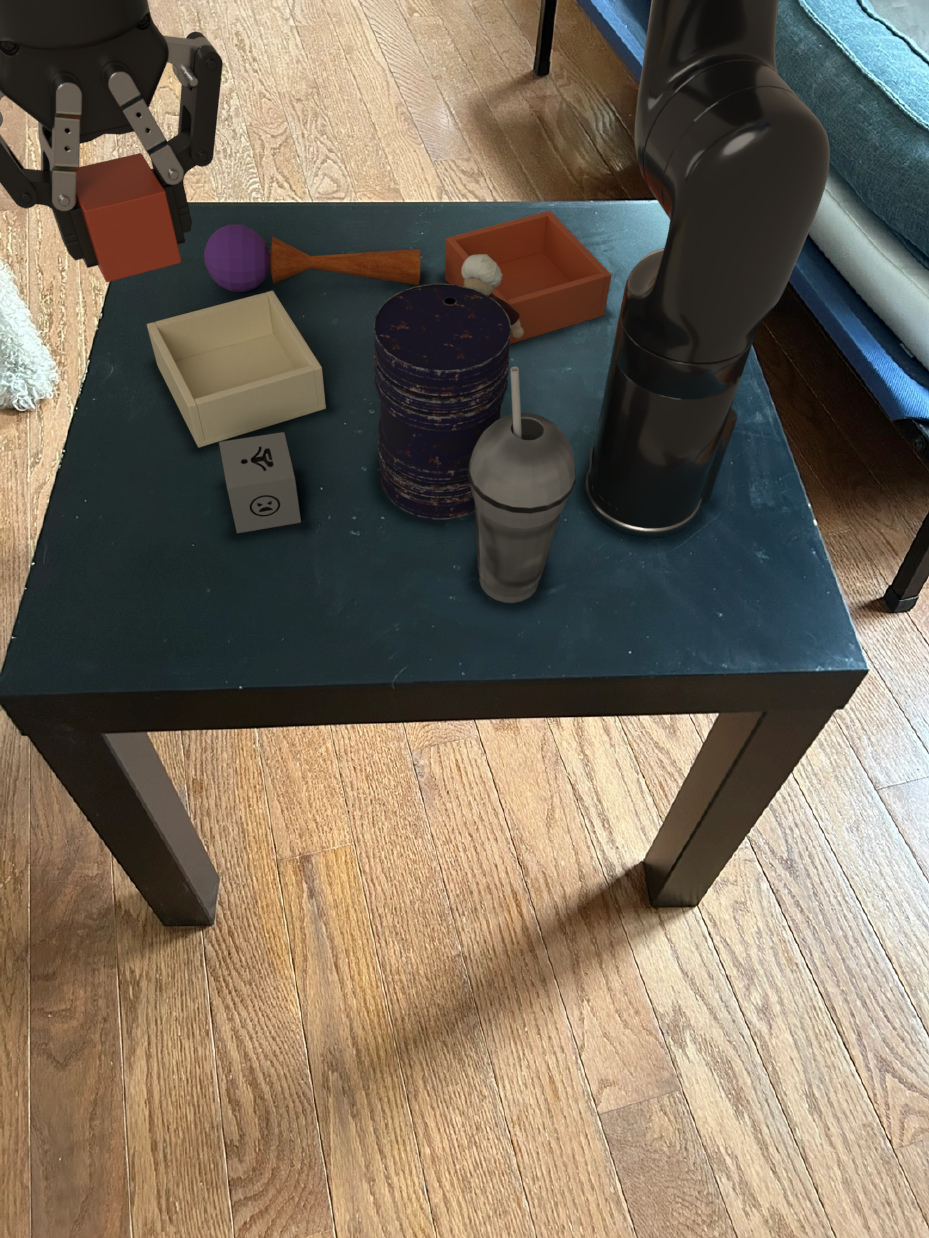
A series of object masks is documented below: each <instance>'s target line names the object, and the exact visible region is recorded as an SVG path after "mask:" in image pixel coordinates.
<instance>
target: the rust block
mask: <svg viewBox="0 0 929 1238" xmlns="http://www.w3.org/2000/svg"><path fill="white" fill-rule="evenodd" d="M152 169H153V168H151V166H150V165H149V163H148V161H147V160H146V158H145V156H144V155H143V153H141V152H138V153H135V154H130V155H125V156H121V157H116V158H112V159H108V160H104V161H98V162H95V163H91V164H86V165H83V166H79V170H77V175H76V200H77V202H78V203H79V205H80V207H81V210H82V213H83V216H84V219H85V223H86V226H87V229H88V232H89V236H90V239H91V242H92V245H93V248H94V252H95V255H96V258H97V261H98V265H97V267H98V269H99V271H100V273H101V275H102V277H103V279H104V281H105V282H106V283H110V282H114V281H118V280H122V279H125V278H129V277H133V276H136V275H140V274H144V273H148V272H151V271H155V270H159V269H163V268H166V267H171V266H174V265H179V264H182V258H181V252H180V248H179V245H178V244H177V240H176V235H175V231H174V227H173V222H172V218H171V214H170V210H169V205H168V201H167V197H166V192H165V191H164V189H163V187H162V186H161V184H160V183H159V181H158V179H157V178H156V176H155V174H154V173H153V171H152Z"/></svg>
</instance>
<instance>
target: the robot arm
mask: <svg viewBox="0 0 929 1238" xmlns="http://www.w3.org/2000/svg"><path fill="white" fill-rule="evenodd" d="M650 2H651V3H650V10H649V18H648V24H647V31H646V39H645V46H644V51H643V52H644V53H643V59H642V65H641V74H640V79H639V84H638V85H639V86H638V93H637V99H636V108H635V117H634V129H633V131H634V132H633V133H634V135H633V144H634V153H635V158H636V162H637V165H638V168H639V172H640V175H641V176H642V179H643V180H644V182H645V184H646V186H647V187H648V189H649V190H650V192H651V194H653V197H654V198H655V200H656V201H657V202H658V204H659V205H660V207H661V209H662V210H663V211H664V213H665V214H666V216H667V218H668V219H669V226H668V231H667V235H666V239H665V243H664V247H663V248H664V251H660V252H657V253H654V254H652V255H650V256H648V257H646V258H644V259H643V260H642V261H640V260H639V261H640V262H639V261H638V262H639V263H638V262H637V264H635V266H634V267H633V268H632V270H631V271H630V273H629V275H628V276H627V279H626V282H625V286H624V289H623V295H622V299H621V303H620V304H621V305H620V310H619V315H618V319H617V324H616V330H615V335H614V339H613V346H612V352H611V355H610V360H609V361H610V362H609V366H608V371H607V376H606V381H605V386H604V392H603V395H602V396H603V397H602V401H601V407H600V412H599V417H598V423H597V428H596V432H595V438H594V443H593V439H591V443H593V444H591V445H590V452H589V453H590V454H589V466H588V469H587V473H586V477H585V480H584V488H583V489H584V497H585V500H586V503H587V505H588V507H589V508H590V510H591V511H592V512H593V514H594V515H595V516H596V517H597V518H598V520H600V521H601V522H602V523H603V524H605V525H607V526H608V527H610V528H612V529H613V530H616V531H617V532H620V533H621V534H625V535H629V536H631V537H632V536H633V537H638V538H648V539H649V538H651V539H652V538H653V539H654V538H662V537H667V536H670V535H673V534H677V533H678V532H680V531H682V530H684V529H685V528H686V527H688V526H689V525H690V524H691V523H692V522H693V521H694V520H695V518H696V517H697V515H698V512H699V509H700V507H701V506H703V505H706V504H708V503H709V501H710V499H711V498H710V497H711V495H712V494H713V493H712V492H713V490H714V486H715V484H716V481H717V478H718V475H719V472H720V470H721V467H722V463H723V461H724V458H725V455H726V451H727V449H728V447H729V443H730V440H731V438H732V435H733V433H734V432H733V431H734V429H735V426H736V424H737V423H736V422H737V420H738V413H737V411H736V410H735V409H734V407H733V404H734V400H735V398H736V394H737V391H738V388H739V385H740V382H741V379H742V376H743V373H744V370H745V367H746V364H747V361H748V358H749V355H750V352H751V349H752V346H753V343H754V340H755V338H756V336H757V333H758V329H759V327H760V325H761V324H762V323H763V322H764V320H766V318H767V317H768V316H769V315H770V314H771V312H772V311H773V310H774V308H776V306H777V304H778V303H779V301H780V300H781V298H782V296H783V295H784V292H785V291H786V288H787V285H788V283H789V281H790V278H791V276H792V273H793V271H794V269H795V267H796V263H797V261H798V258H799V256H800V254H801V252H802V249H803V247H804V244H805V242H806V239H807V237H808V235H809V232H810V230H811V227H812V226H813V222H814V220H815V217H816V215H817V213H818V209H819V207H820V204H821V202H822V200H823V199H822V198H823V195H824V192H825V188H826V185H827V181H828V177H829V170H830V161H831V148H830V141H829V138H828V134H827V131H826V129H825V127H824V125H823V124H822V122H821V121H820V119H819V118H818V117H817V116H816V115H815V113H814V112H813V111H812V110H811V109H810V108H809V107H808V105H806V103H804V101H803V100H802V99H801V97H800V96H799V95H797V93H796V92H795V91H794V90H793V89H792V88H791V87H790V86H789V85H788V83H786V81H785V80H784V79H783V78H782V77H781V75H780V74H779V73H778V68H777V63H776V36H777V35H776V33H777V23H778V21H777V20H778V13H779V12H778V10H779V5H780V0H651V1H650ZM168 63H169V64H171V66H172V72H173V75H174V77H176V79H177V80H178V82H179V83H180V86H181V87H180V98H179V99H180V101H179V111H178V123H177V124H178V128H177V134H176V135H175V136H173V137H172V138H170V139H167V138H166V136H165V135H164V132H163V131H162V130H161V128H160V126H159V124H158V123H157V121H156V119H155V117H154V115H153V113H152V112H151V110H150V106H151V103H152V101H153V99H154V96H155V94H156V91H157V89H158V85H159V83H160V81H161V80H162V77H163V74H164V71H165V69H166V67H167V65H168ZM223 65H224V63H223V59H222V57H221V55H220V54H219V52H218V51H217V50H216V48H215V47H214V45H213V44H212V42H211V41H209V39H208V38H206V36H205V35H204V34H203V33H202V32H200V31H192V32H189V33H188V34H187V36H186V37H178V36H170V35H164V34H163V33H162V32H161V31H160V29H159V28H158V26H157V25H156V24H155V22H154V20H153V18H152V14H151V10H150V5H149V1H148V0H0V101H1V100H2V99H3V98H4V97H6V98H7V99H9V100H10V101H11V102H12V103H14V104H15V105H16V106H18V107H19V108H20V109H21V110H23V111H24V112H25V113H26V114H28V115H29V116H30V117H31V118H33V119H34V120H35V121H37V132H38V133H37V135H38V140H39V146H40V169H35V168H34V169H33V168H25V166H24V165H23V163H21V161H20V160H19V158H18V157H17V155H16V154H15V153H14V152H13V150H12V148H11V147H10V145H9V144H8V143H7V142H6V140H5V138H4V137H3V136H2V135H1V134H0V185H1V186H2V187H3V189H4V190H5V191H6V193H7V194H8V195H9V197H10V198H11V199H12V200H13V202H14V204H16V206H18V207H19V208H22V209H30V208H34V207H35V206H36V205H39V206H45V207H48V208H49V209H50V210H51V211H52V213H53V217H54V221H55V223H56V226H57V228H58V232H59V235H60V238H61V240H62V243H63V244H64V247H65V249H66V251H67V253H68V255H69V256H70V257H71V258H72V259H73V260H74V262H75V261H79V260H82V261H83V263H84V265H85V267H86V268H87V269H90V268H93V267H98V261H97V258H96V255H95V252H94V248H93V245H92V242H91V239H90V236H89V232H88V229H87V226H86V223H85V219H84V216H83V213H82V210H81V207H80V205H79V203H78V202H77V200H76V175H77V170H79V167H80V152H81V149H80V148H81V144H85V143H89V142H92V141H94V140H96V139H98V138H100V137H101V136H104V135H117V136H118V135H125V134H130V133H135V135H136V137H137V139H138V140H139V141H140V143H141V145H142V147H143V148H144V150H145V152H146V153H147V155H148V157H149V158H150V162H151V166H152V168H151V169H152V171H153V173H154V174H155V176H156V178H157V179H158V181H159V183H160V184H161V186H162V187H163V189H164V191H165V192H166V197H167V201H168V205H169V210H170V214H171V218H172V222H173V227H174V231H175V235H176V240H177V244H178V246H179V245H183V244H185V243H186V239H185V235H184V234H185V233H188V232H191V230H192V225H193V220H192V215H191V211H190V208H189V203H188V198H187V194H186V193H187V192H186V189H185V184H184V183H185V181H184V180H185V176H186V174H187V173H188V172H189V171H190V170H192V169H193V168H195V167H199V168H201V167H202V168H204V167H207V166H209V165H210V164H211V163H212V161H213V160H214V153H215V144H216V143H215V142H216V135H217V134H216V133H217V124H218V114H219V106H220V104H219V103H220V94H221V85H222V74H223ZM3 122H4V116H3V114H2V112H1V111H0V128H1V127H2V125H3Z"/></svg>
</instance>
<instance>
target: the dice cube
mask: <svg viewBox="0 0 929 1238" xmlns="http://www.w3.org/2000/svg"><path fill="white" fill-rule="evenodd" d="M218 445H219V449H220V450H219V451H220V456H221V462H222V468H223V473H224V478H225V479H224V480H225V484H226V490H227V494H228V499H229V504H230V508H231V513H232V518H233V522H234V526H235V531H236V534H242V533H248V532H253V531H259V530H264V529H271V528H277V527H282V526H288V525H294V524H300V523H302V520H301V519H302V518H301V512H300V504H299V497H298V491H297V483H296V477H295V472H294V469H293V463H292V460H291V456H290V455H291V454H290V451H289V447H288V442H287V439H286V434H285V431H282V432H276V433H269V434H263V435H256V436H249V437H244V438H235V439H231V440H222V441H219V442H218Z"/></svg>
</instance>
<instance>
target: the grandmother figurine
mask: <svg viewBox="0 0 929 1238" xmlns="http://www.w3.org/2000/svg"><path fill="white" fill-rule="evenodd" d="M462 276H463V278H464V287H468V288H471V289H475V290H477V291H479V292H482V293H484V294H486V295H487V296H489V297H491V298H492V299H494V300H495V301H496V302H497V303H499V305H500V306H501V307H502V308H503V309H504V310H505V312H506V313H507V315H508V317H509V320H510V324H511V333H512V335H513V337H514V338H517V339H518V338H521V337H522V336H523V334H524V331H523V329H522V327H521V323H520V321H519V317H520V315H519V314H518V312H516V311H515V310H514V309H513V308H512V307H511V306H510V305H509V304H508V303H507V302H505V301H503V300H502V299H500V298H498V297H496V296H495V295H494V294H492V292H493V290H494V288H496V287H497V286H498V285H499V284H500V283H501V280H502V276H503V275H502V273H501V270H500V268H499V267H498V265H497V263H496V262H495V261H493V260H492V259H491V258H490V257H489V256H488V255H486V254H478V255H471V256H469V257H468V258H467V259H466V260H465V262H464V263H463V266H462Z"/></svg>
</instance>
